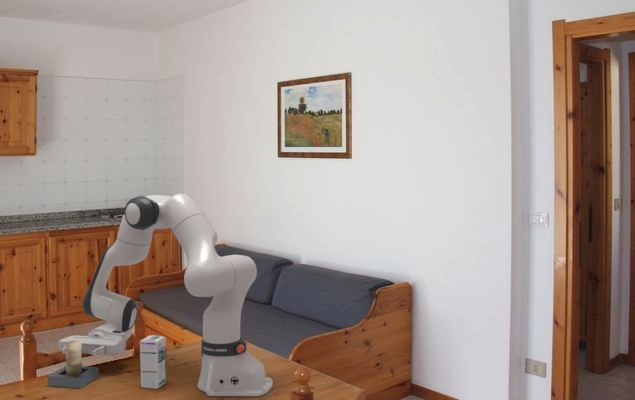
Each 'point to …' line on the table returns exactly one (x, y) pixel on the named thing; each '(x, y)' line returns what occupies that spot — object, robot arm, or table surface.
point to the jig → (73, 378)
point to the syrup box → (153, 361)
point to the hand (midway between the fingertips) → (78, 352)
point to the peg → (73, 358)
